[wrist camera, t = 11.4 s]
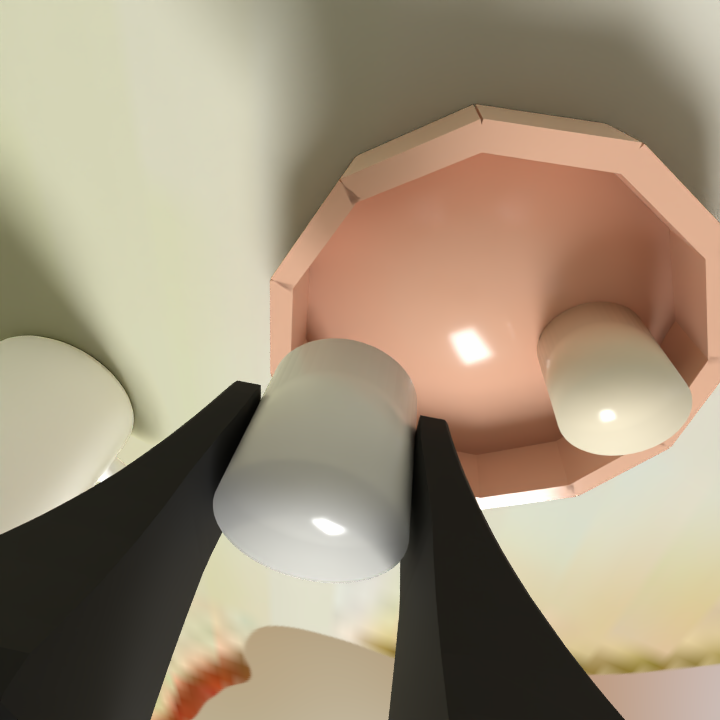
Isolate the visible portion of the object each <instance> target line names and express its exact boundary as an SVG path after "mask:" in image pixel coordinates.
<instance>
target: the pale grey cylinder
mask: <svg viewBox="0 0 720 720" xmlns="http://www.w3.org/2000/svg"><path fill="white" fill-rule="evenodd" d="M416 419H417V395H416V391H415V387H414V385H413V383H412V381H411V379H410V377H409V375H408V374H407V372H406V371H405V370H404V369H403V368H402V366H401V365H400V364H399V363H398V362H397V361H395V360H394V359H393V358H392V357H391V356H389V355H388V354H386V353H385V352H383V351H381V350H379V349H377V348H375V347H373V346H371V345H368V344H365V343H363V342H359V341H355V340H349V339H340V338H329V339H320V340H315V341H311V342H308V343H306V344H303V345H301V346H299V347H297V348H295V349H294V350H292V351H291V352H290V353H288V354H287V355H286V356H285V357H284V358H283V359H282V361H281V362H280V363H279V365H278V367H277V369H276V371H275V373H274V375H273V377H272V379H271V381H270V383H269V385H268V387H267V389H266V391H265V393H264V395H263V397H262V399H261V401H260V403H259V405H258V407H257V409H256V411H255V413H254V415H253V417H252V419H251V421H250V423H249V425H248V427H247V429H246V431H245V433H244V435H243V437H242V439H241V441H240V443H239V445H238V447H237V449H236V451H235V453H234V455H233V457H232V459H231V461H230V463H229V465H228V467H227V469H226V471H225V473H224V475H223V477H222V479H221V481H220V484H219V486H218V488H217V490H216V492H215V495H214V499H213V511H214V516H215V519H216V521H217V524H218V525H219V527H220V529H221V531H222V532H223V533H224V535H225V536H226V537H227V539H228V540H229V541H230V542H231V543H232V544H233V545H234V546H235V547H236V548H238V549H239V550H240V551H241V552H242V553H244V554H245V555H247V556H248V557H250V558H251V559H253V560H254V561H256V562H258V563H260V564H261V565H263V566H266V567H268V568H270V569H272V570H274V571H277V572H279V573H282V574H285V575H288V576H291V577H295V578H299V579H303V580H309V581H314V582H323V583H350V582H358V581H363V580H368V579H371V578H374V577H377V576H379V575H381V574H383V573H386V572H387V571H389V570H390V569H392V568H393V567H394V566H396V565H397V564H398V563H399V562H400V560H401V559H402V558H403V557H404V555H405V553H406V551H407V548H408V544H409V533H410V517H411V500H412V484H413V466H414V449H415V433H416Z"/></svg>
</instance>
